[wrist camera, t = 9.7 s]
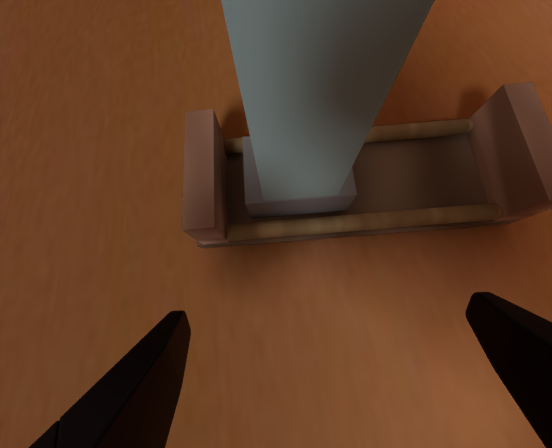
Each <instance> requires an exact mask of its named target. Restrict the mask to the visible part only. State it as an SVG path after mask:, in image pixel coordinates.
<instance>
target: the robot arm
mask: <svg viewBox="0 0 552 448" xmlns="http://www.w3.org/2000/svg"><path fill="white" fill-rule="evenodd" d="M466 318H467V320H468V322H469V324H470V326H471V328H472V330H473V332H474V333H475V335H476V337H477V339H478V341H479V343H480V345H481V346H482V348H483V350H484V352H485V354H486V356H487V357H488V359H489V361H490V363H491V365H492V366H493V368H494V370H495V371H496V373H497V374H498V376H499V377H500V379H501V380H502V382H503V384H504V385H505V387H506V388H507V390H508V391H509V393H510V394H511V396H512V397H513V399H514V400H515V402H516V403H517V405H518V406H519V408H520V409H521V411H522V412H523V414H524V415H525V417H526V418H527V420H528V421H529V423H530V424H531V426H532V427H533V429H534V430H535V432H536V433H537V435H538V436H539V438H540V439H541V441H542V443H543V444H544V446H545V447H546V448H552V322H550V321H548V320H546V319H544V318H542V317H540V316H537V315H535V314H533V313H531V312H529V311H527V310H525V309H523V308H521V307H519V306H517V305H515V304H513V303H511V302H509V301H507V300H505V299H503V298H501V297H499V296H496V295H494V294H492V293H490V292H476V293H474V294H473V295H472V296H471V299H470V301H469V304H468V306H467V309H466ZM190 336H191V329H190V325H189V322H188V319H187V315H186V313H185V311H183V310H181V311H171V312H170V313H168V314H167V315H166V316H165V317H164V318H163V319H162V320H161V321H160V322H159V323H158V324H157V325H156V326H155V327H154V328H153V329H152V330H151V331H150V332H149V333H148V334H147V335H146V336H145V337H143V338H142V339H141V340H140V341H139V342H138V343H137V344H136V345H135V346H134V347H133V348H132V349H131V350H130V351H129V352H128V353H127V354H126V355H125V356H124V357H123V358H122V359H121V360H120V361H119V362H118V363H116V364H115V365H114V366H113V367H112V368H111V369H110V370H109V371H108V372H107V373H106V374H105V375H104V376H103V377H102V378H101V379H100V380H99V381H98V382H97V383H96V384H95V385H94V386H93V387H92V388H91V389H90V390H88V391H87V392H86V393H85V394H84V395H83V396H82V397H81V398H80V399H79V400H78V401H77V402H76V403H75V404H74V405H73V406H72V407H71V408H70V409H69V410H68V411H67V412H66V413H65V414H64V415H63V416H62V417H61V418H60V421H56V422H55V423H54V424H53V425H52V426H51V427H50V428H49V429H48V430H47V431H46V432H45V433H44V434H43V435H42V436H41V437H40V438H38V439H37V440H36V441H35V442H34V443H33V444H32V445H31V446H30V447H29V448H165V445H166V442H167V438H168V435H169V431H170V427H171V424H172V420H173V417H174V413H175V410H176V406H177V402H178V399H179V395H180V391H181V387H182V382H183V377H184V371H185V365H186V360H187V354H188V348H189V342H190Z"/></svg>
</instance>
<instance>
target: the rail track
mask: <svg viewBox="0 0 552 448" xmlns="http://www.w3.org/2000/svg"><path fill="white" fill-rule="evenodd" d="M352 169H353V175H354V181H355V186H356V192H357V196H356V197H355V199H354V200H353V202H352V203H351V205H350V206H349V208H348V209H347V211H335V212H323V213H310V214H298V215H285V216H273V217H261V218H251V217H250V214H249V212H248V210H247V207H246V205H245V186H244V163H243V140H242V137H241V138H229V139H224V136H223V134H222V131H221V128H220V126H219V123H218V120H217V117H216V115H215V112H214V109H211V110H199V111H187V112H185V147H184V182H183V216H182V230H183V231H184V232H186V233H187V234H189V235H190V236H192V237H193V238H194V239H196V240H197V246H199V247H201V248H211V247H224V246H236V245H249V244H262V243H274V242H287V241H299V240H312V239H324V238H337V237H349V236H362V235H375V234H387V233H400V232H412V231H425V230H437V229H450V228H462V227H475V226H488V225H500V224H509V223H512V222H514V221H517V220H520V219H523V218H526V217H529V216H532V215H534V214H537V213H540V212H543V211H546V210H549V209H552V127H551V124H550V122H549V120H548V118H547V115H546V113H545V111H544V108H543V106H542V104H541V101H540V99H539V97H538V95H537V92H536V90H535V88H534V85H533V83H532V82H528V83H516V84H504V85H502V86H501V87H500V88H499V89H498V90H497V91H496V92H495V93H494V94H493V95H492V96H491V97H490V98H489V99H488V100H487V101H486V102H485V103H484V104H483V105H482V106H481V107H480V108H479V109H478V110H477V111H476V112H475V113H474V114H473V115H472V116H471V117H470V118H469V119H455V120H443V121H432V122H420V123H408V124H396V125H384V126H372V128H371V130H370V132H369V134H368V136H367V138H366V140H365V142H364V144H363V146H362V148H361V150H360V152H359V154H358V156H357V158H356V160H355V162H354V164H353V166H352Z"/></svg>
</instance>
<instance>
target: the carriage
mask: <svg viewBox="0 0 552 448" xmlns="http://www.w3.org/2000/svg"><path fill="white" fill-rule="evenodd" d="M221 1H222V6H223V11H224V15H225V20H226V25H227V30H228V34H229V39H230V44H231V49H232V53H233V58H234V63H235V67H236V72H237V77H238V82H239V86H240V91H241V96H242V101H243V105H244V110H245V115H246V119H247V124H248V129H249V134H250V136H245V137H242V140H243V163H244V186H245V205H246V207H247V210H248V212H249V214H250V217H251V218H261V217H273V216H285V215H298V214H310V213H323V212H335V211H347V209H348V208H349V206H350V205H351V203H352V202H353V200H354V199H355V197H356V196H357V192H356V186H355V181H354V175H353V169H352V166H353V164H354V162H355V160H356V158H357V156H358V154H359V152H360V150H361V148H362V146H363V144H364V142H365V140H366V138H367V136H368V134H369V132H370V130H371V128H372V125H373V123H374V121H375V119H376V117H377V115H378V113H379V111H380V109H381V107H382V105H383V103H384V101H385V99H386V97H387V95H388V93H389V91H390V89H391V87H392V85H393V83H394V81H395V79H396V77H397V75H398V73H399V71H400V69H401V67H402V65H403V63H404V61H405V59H406V57H407V55H408V53H409V51H410V49H411V47H412V45H413V43H414V41H415V39H416V37H417V35H418V33H419V31H420V29H421V27H422V25H423V23H424V21H425V19H426V17H427V15H428V13H429V11H430V9H431V7H432V5H433V3H434V1H435V0H221Z"/></svg>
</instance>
